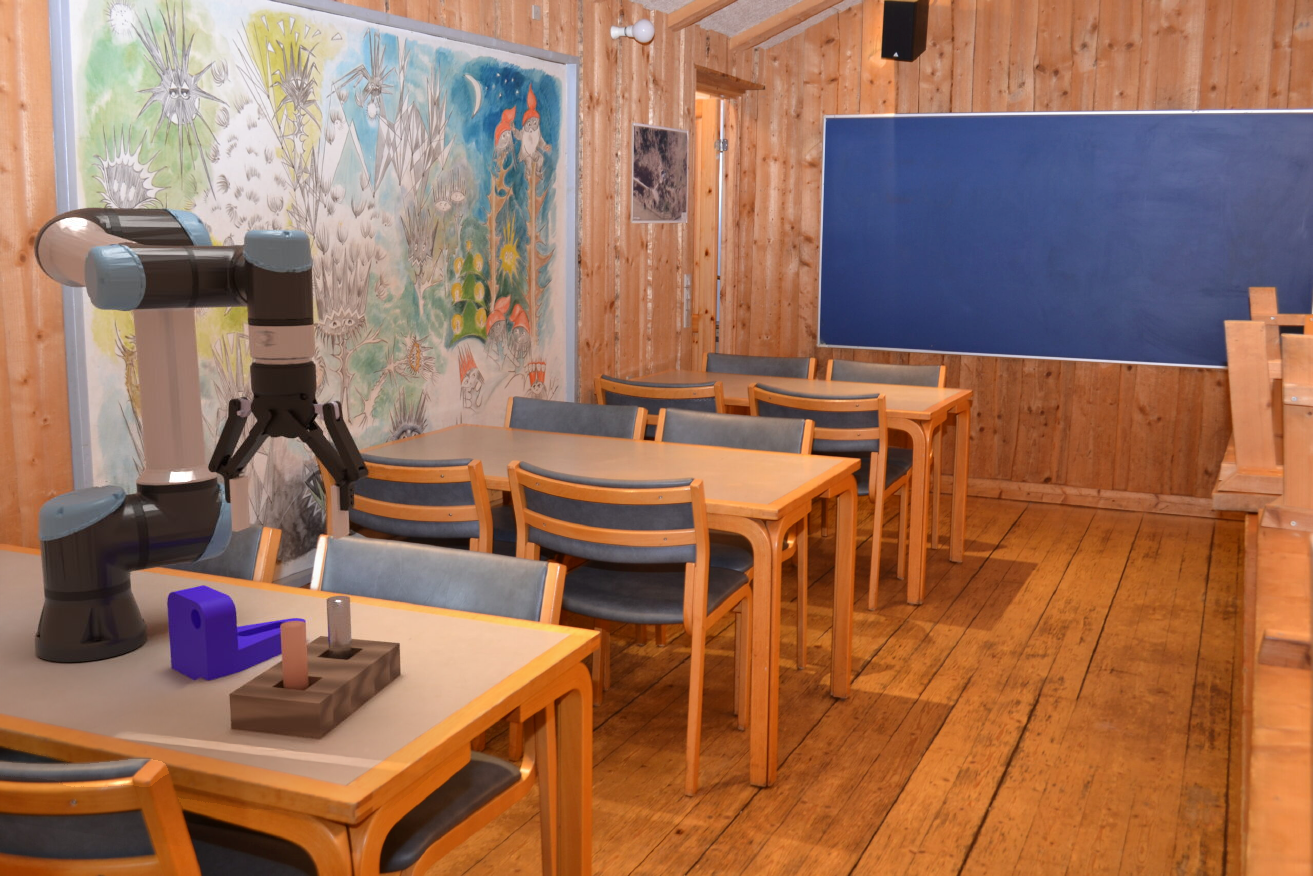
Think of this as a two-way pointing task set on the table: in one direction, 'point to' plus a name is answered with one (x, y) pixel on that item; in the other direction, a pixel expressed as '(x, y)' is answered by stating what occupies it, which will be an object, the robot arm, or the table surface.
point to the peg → (294, 655)
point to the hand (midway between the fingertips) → (290, 532)
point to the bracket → (216, 635)
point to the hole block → (315, 690)
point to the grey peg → (339, 627)
